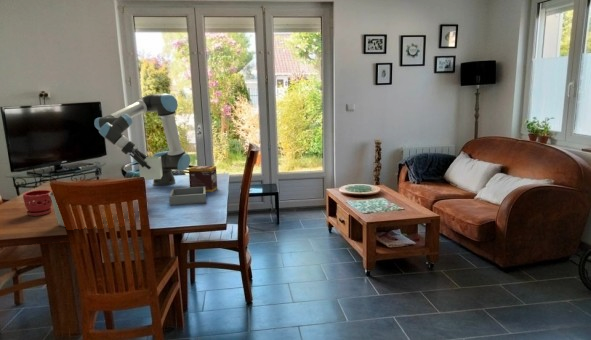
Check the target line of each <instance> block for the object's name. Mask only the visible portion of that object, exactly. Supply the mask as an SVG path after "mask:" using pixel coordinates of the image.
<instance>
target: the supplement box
mask: <svg viewBox="0 0 591 340" xmlns="http://www.w3.org/2000/svg"><path fill="white" fill-rule="evenodd" d="M188 178H189V188H191V187H205V190H206V193H213V192H214V191H215V190H218V176H217V165H194V166H191V167H188Z"/></svg>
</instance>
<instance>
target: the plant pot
mask: <svg viewBox="0 0 591 340" xmlns="http://www.w3.org/2000/svg"><path fill="white" fill-rule="evenodd" d="M52 191H53V190H50V189H46V190H45V189H39V190H31V191H27V192H24V193H23V194H22V198H23V202H24V203H23V204H24V206H25V208H26V209H27V211H26V214H27V215H28V216H32V217H34V216H35V217H37V216H44V215H48V214H50V213H51V212H52V211H53V209H52V206H53V204H52V200H51V196H49V193H51V192H52Z"/></svg>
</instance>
